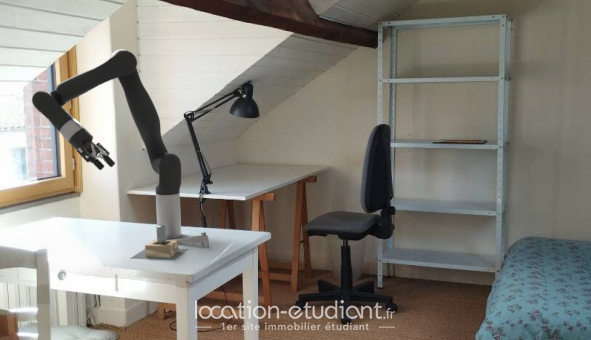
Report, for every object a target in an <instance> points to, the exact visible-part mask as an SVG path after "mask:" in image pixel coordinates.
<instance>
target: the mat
mask: <svg viewBox="0 0 591 340" xmlns="http://www.w3.org/2000/svg"><path fill="white" fill-rule="evenodd" d="M188 250H189V248H179V251H178V252H177V253H176V254H174V255H173V256H171V257H170V258H167V257H146V254H145V248H144V249H142V250H141V251H139V252H138V253H136V254H135V255H133V256H131V257H130V258H129V259H136V260H161V261H162V260H164V261H175V260H176V259H178V258H179V257H181V256H182V255H183V254H185V253H186V252H187V251H188Z"/></svg>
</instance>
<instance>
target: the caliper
mask: <svg viewBox="0 0 591 340" xmlns="http://www.w3.org/2000/svg"><path fill="white" fill-rule="evenodd" d="M200 233H201V234H200V235H194V236H190V237H187V238H186V237H185V238H175V240H178V244H184V243H185V244H186V243H191V244H192V245H194V244H199V245H200V246H201V248H210V239H209V236H208V234H207V233H206V231H204V232H200Z"/></svg>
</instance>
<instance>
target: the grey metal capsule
mask: <svg viewBox="0 0 591 340" xmlns="http://www.w3.org/2000/svg"><path fill="white" fill-rule="evenodd" d="M155 228H156V240H157V245H167V243H166V240H167V239H166V225H158V226H157V225H156V227H155Z"/></svg>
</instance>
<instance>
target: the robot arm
mask: <svg viewBox="0 0 591 340" xmlns="http://www.w3.org/2000/svg"><path fill="white" fill-rule="evenodd" d="M137 66H138V60H137V57H136V55H135V54H134V53H133V52H131V51H129V50H127V49H125V48H124V49H117V50H114V51H113V53H112V54H111V55H110V58H109V59H107V60H106V61H105V62H102V64H100V65H97V66H96V67H94V68H92V69H89V70H87V71H84V72H80V73H78V74H76V75H74V76H71V77H69V78H68V79H66V80H64V81H62V82H60V83H58V84H57V85H56V88H55V89H53V90H52V91H51V92H49V91H47V90H37V91H36V92H35V93H33V95H32V98H31V102H32V105H33V107H34V108H35V109H36V110H37V111H38V112H39V113H40V114H42V115H43V116H44V117H46V119H47V120H48V121H49V122H50V123H51V125H52V126H53V127H54V128H55V129H56V130H57V131H58V132H59V133H60V134H61V136H62V137H63V138H64V139H65V140H66V141H67V142H68V144H70V146H71V147H72V148H74V149H75V150H76V152H77V153H78V155H80V157H81V158H82V159H84V161H85V162H86V163H89V162H90V164H93V165H94V166H95V167H96V168H97V169H98V170H99V171H102V170H103V169H104V167H105V165H104V163H102V162H101V160H103V161H104V162H105V164H107V165H108V166H109V167H110V168H113V167H114V166H115V164H116V162H115V160H113V159H112V158H111V157H110V154H111V153H110V151H108V150H107V148H105V147H104V146H103V145H102V144H101V143H100V142H97V143H94V142H93V139H94V136H93V135H92V134H91V132H89V131H88V130H87V129H86V128H85V127H84V126H83V125H82V124H81V123H80V122H79V121H78V120H76V119H75V117H74V116H72V115H71V113H69V112H68V111H67V110H66V109H64V107H63V106H65V105H66V104H67V103H68V102H70V101H72V100H74V99H76V98H78V97H80V96H83V95H84V94H85V93H88V92H89V91H91V90H93V89H95V88H97V87H99V86H101V85H102V84H105V83H107V82H109V81H112V80H115V79H117V80H118V81H119V83H120V85H121V88H122V89H123V93H124V96H125V99H126V103H127V105H128V109H129V111H130V114H131V117H132V119H133V122H134V124H135V126H136V129H137V131H138V132H139V135H140V137H141V139H142V142H143V144H144V146H145V149H146V152H147V155H148V159H149V163H150V166H151V168H152V170H153V171H154V172H155V174H157V175H158V184H157V186H156V187H155V205H156V206H155V207H156V208H155V210H156V224H157V225H156V226H158V225H166V240H172V239H178V238H180V237H182V221H181V219H182V218H181V195H180V194H181V193H180V191H181V190H180V189H181V186H182V163H181V159H180V157H179V156H178V155H177V154H176V153H172V152H169V151H168V149H167V148H166V147H167V146H166V145H165V143H164V141H163V138H162V133H161V130H162V129H161V121H160V120H161V119H160V117H159V114H158V110H157V108H156V106H155V104H154V102H153V100H152V98H151V96H150V94H149V93H148V91H147V89H146V87H145V86H144V84H143V82H142V81H141V78H140V75H139V72H138V71H139V70H138V69H137ZM100 159H101V160H100Z"/></svg>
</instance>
